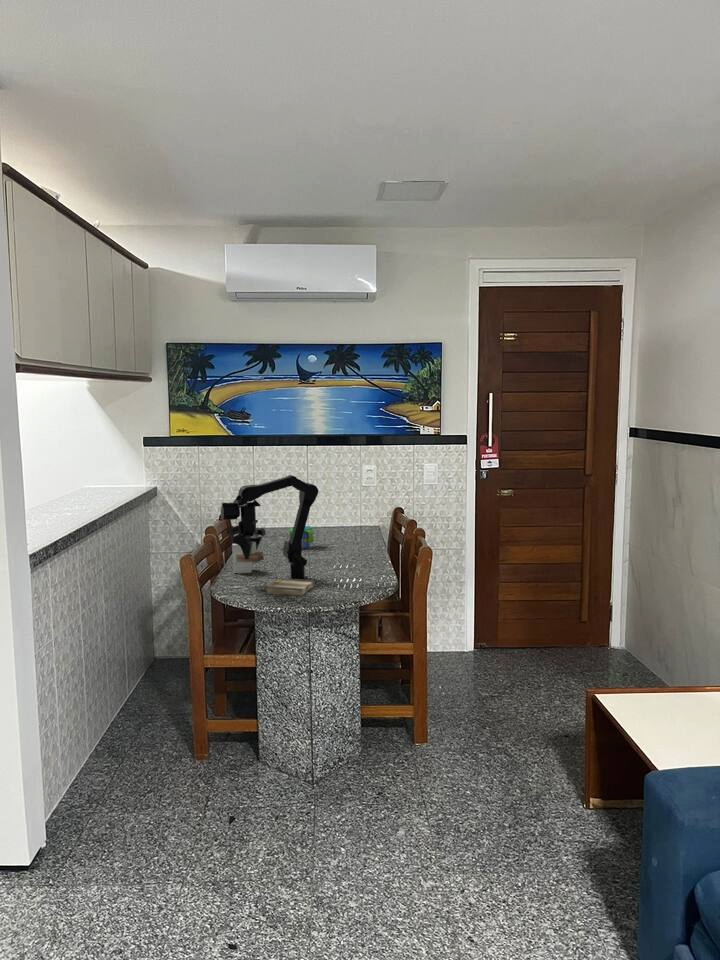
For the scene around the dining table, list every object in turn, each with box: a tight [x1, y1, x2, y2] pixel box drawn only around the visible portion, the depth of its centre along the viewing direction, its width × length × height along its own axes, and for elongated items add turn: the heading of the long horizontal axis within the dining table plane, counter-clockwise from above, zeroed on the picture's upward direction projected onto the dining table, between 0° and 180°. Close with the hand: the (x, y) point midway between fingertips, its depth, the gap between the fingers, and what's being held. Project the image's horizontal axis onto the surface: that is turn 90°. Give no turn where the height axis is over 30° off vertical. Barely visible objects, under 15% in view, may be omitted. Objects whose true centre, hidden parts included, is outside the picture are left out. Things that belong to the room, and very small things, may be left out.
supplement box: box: [231, 543, 253, 574], centre depth 303 cm, size 7×7×13 cm
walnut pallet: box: [236, 551, 265, 564], centre depth 280 cm, size 6×9×3 cm, turn 74°
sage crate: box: [250, 542, 257, 554], centre depth 279 cm, size 4×4×4 cm
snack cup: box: [288, 525, 315, 550], centre depth 348 cm, size 16×10×10 cm
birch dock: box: [266, 578, 315, 596], centre depth 273 cm, size 14×14×2 cm
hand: (250, 557), depth 280 cm, fingers closed on walnut pallet, 6 cm apart
